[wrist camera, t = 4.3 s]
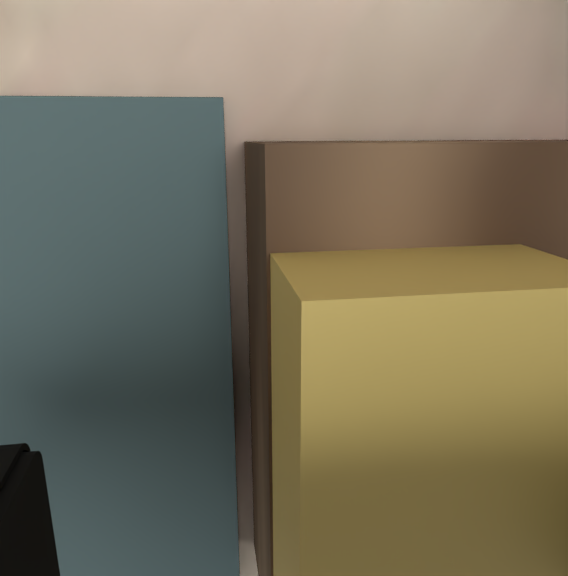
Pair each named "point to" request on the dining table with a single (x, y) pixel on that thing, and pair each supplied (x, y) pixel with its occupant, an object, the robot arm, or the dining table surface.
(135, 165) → the mat
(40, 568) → the robot arm
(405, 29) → the dining table surface
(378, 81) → the dining table surface
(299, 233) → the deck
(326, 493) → the pale yellow cuboid
